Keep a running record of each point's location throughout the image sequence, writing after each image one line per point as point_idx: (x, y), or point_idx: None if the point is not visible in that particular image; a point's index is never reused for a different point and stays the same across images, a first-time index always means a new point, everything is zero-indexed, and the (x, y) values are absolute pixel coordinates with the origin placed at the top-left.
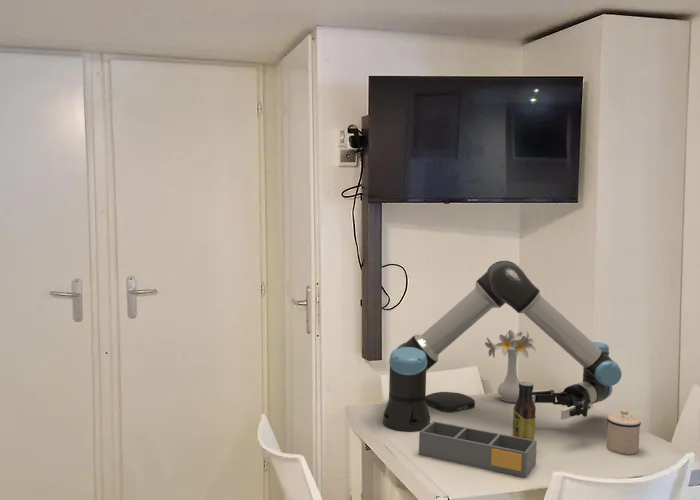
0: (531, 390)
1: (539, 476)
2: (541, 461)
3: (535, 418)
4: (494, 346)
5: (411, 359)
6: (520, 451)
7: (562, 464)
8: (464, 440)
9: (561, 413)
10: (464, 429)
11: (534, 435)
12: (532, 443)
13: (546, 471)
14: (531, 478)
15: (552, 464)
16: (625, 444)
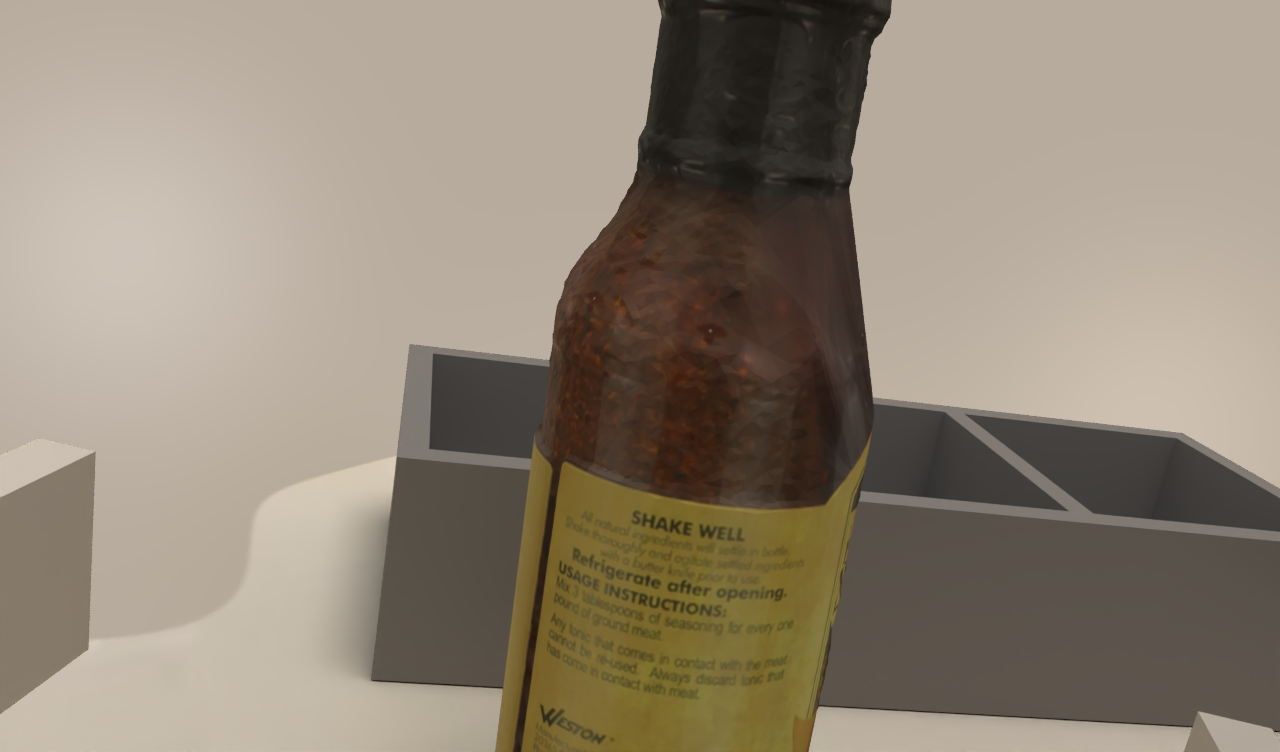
0: (663, 10)
1: (298, 544)
2: (324, 735)
3: (535, 475)
4: None
5: None
6: (463, 353)
7: (76, 747)
8: (876, 400)
9: (85, 523)
10: (1058, 496)
11: (503, 717)
12: (418, 422)
13: (250, 605)
14: (351, 519)
15: (197, 716)
16: None
